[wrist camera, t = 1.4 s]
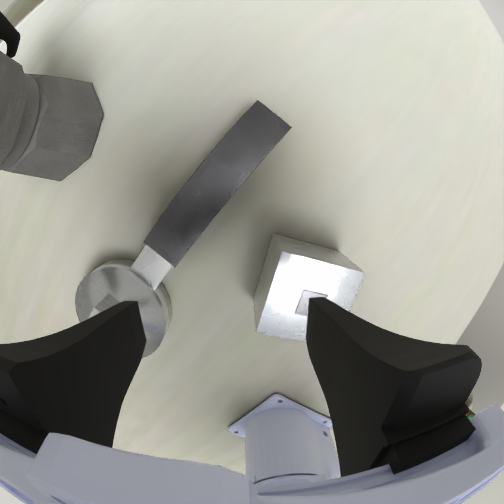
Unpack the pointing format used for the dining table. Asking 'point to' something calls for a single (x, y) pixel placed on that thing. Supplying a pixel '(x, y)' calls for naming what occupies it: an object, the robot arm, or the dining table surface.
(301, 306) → the grey cube
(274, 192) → the dining table surface
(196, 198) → the ratchet
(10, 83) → the coffeepot
